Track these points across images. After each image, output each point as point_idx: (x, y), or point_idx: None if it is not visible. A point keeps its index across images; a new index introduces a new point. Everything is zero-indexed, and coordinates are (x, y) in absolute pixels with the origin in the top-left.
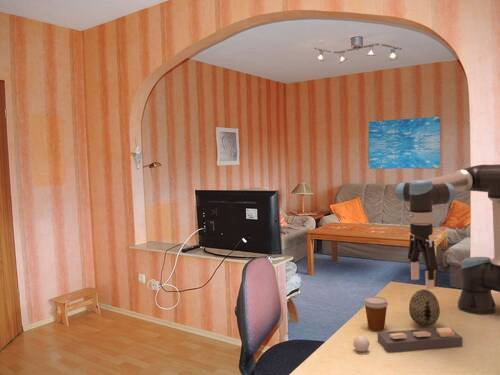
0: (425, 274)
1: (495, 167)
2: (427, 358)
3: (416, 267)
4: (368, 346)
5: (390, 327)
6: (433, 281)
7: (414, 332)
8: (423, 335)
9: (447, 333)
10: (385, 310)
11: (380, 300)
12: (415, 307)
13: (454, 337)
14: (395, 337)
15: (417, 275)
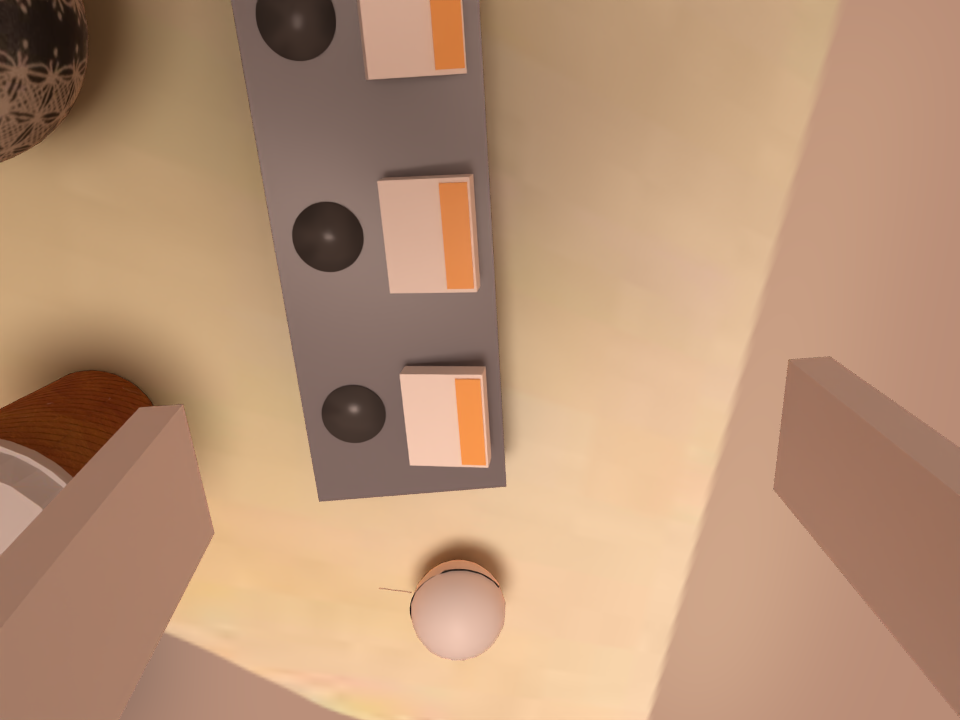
0: (951, 703)
1: None
2: (613, 250)
3: (61, 641)
4: (485, 572)
5: (73, 320)
6: (914, 431)
7: (407, 285)
8: (475, 238)
9: (457, 7)
10: (64, 446)
11: None
12: None
13: None
14: (488, 447)
15: (157, 480)
